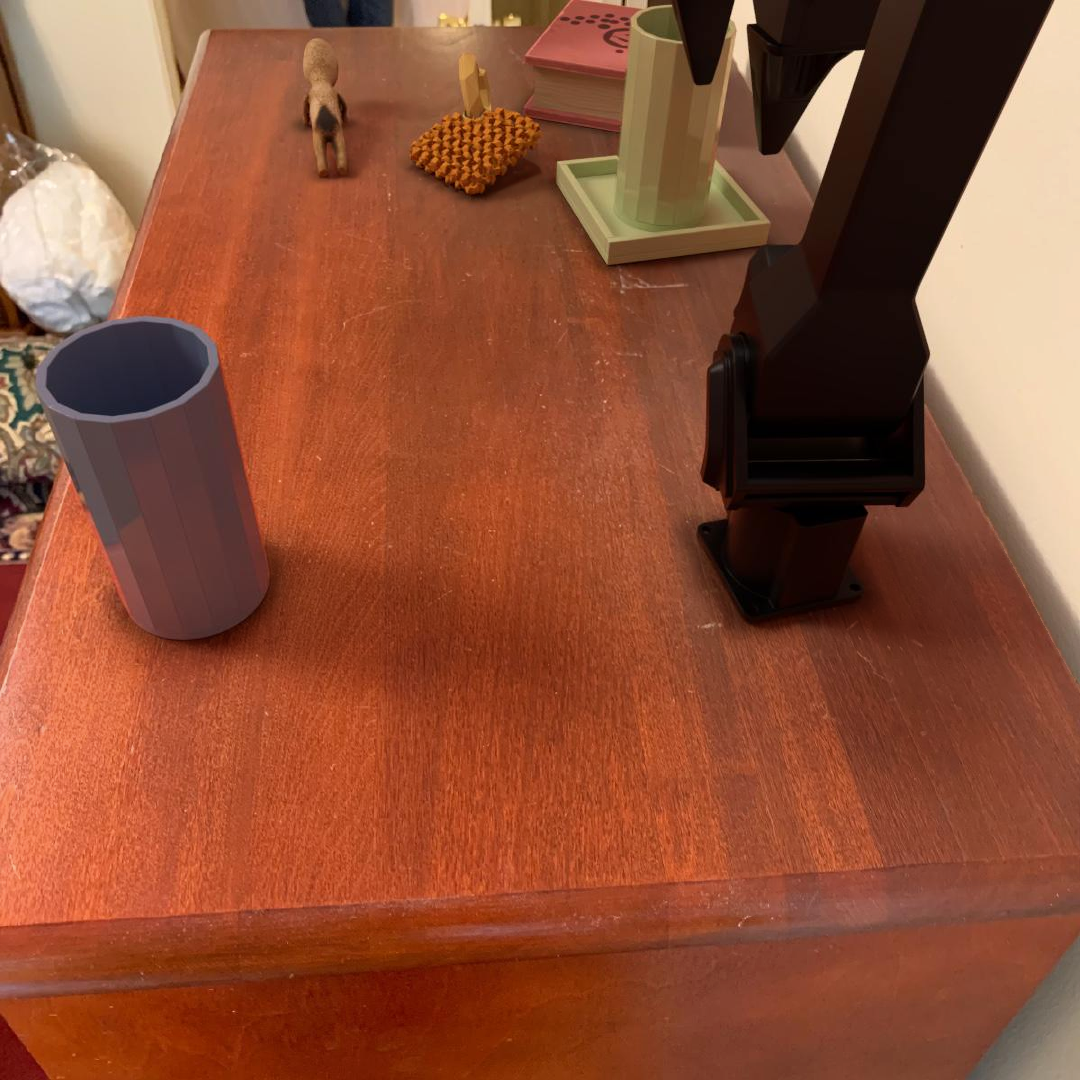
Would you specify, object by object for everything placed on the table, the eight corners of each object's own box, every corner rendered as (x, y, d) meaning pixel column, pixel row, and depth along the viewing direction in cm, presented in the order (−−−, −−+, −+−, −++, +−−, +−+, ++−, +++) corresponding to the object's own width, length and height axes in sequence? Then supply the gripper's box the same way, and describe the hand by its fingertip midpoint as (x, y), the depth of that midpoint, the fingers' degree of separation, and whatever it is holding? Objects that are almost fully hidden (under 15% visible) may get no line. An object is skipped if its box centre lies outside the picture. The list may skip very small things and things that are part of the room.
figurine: (359, 196, 80) (342, 78, 87) (354, 148, 76) (337, 28, 83) (311, 200, 79) (299, 80, 86) (304, 151, 75) (291, 30, 83)
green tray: (766, 245, 73) (771, 222, 71) (607, 265, 70) (609, 242, 69) (701, 167, 81) (704, 146, 79) (555, 183, 78) (557, 161, 77)
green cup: (663, 243, 71) (690, 52, 62) (594, 207, 75) (609, 20, 65) (723, 212, 75) (757, 26, 65) (654, 178, 78) (677, -3, 69)
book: (698, 145, 83) (707, 84, 80) (523, 115, 86) (524, 55, 83) (727, 80, 93) (737, 22, 89) (569, 55, 96) (572, -2, 92)
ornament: (534, 139, 72) (531, 16, 79) (392, 164, 73) (403, 40, 81) (551, 214, 77) (546, 92, 85) (419, 235, 79) (426, 113, 87)
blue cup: (277, 623, 47) (224, 405, 38) (125, 653, 46) (31, 434, 36) (262, 523, 52) (212, 306, 42) (123, 547, 50) (39, 328, 41)
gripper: (1072, -180, 41) (947, 179, 53) (852, -262, 54) (789, 44, 65) (831, -174, 39) (754, 202, 50) (657, -261, 51) (627, 57, 63)
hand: (734, 117), depth 57 cm, fingers open, 9 cm apart
